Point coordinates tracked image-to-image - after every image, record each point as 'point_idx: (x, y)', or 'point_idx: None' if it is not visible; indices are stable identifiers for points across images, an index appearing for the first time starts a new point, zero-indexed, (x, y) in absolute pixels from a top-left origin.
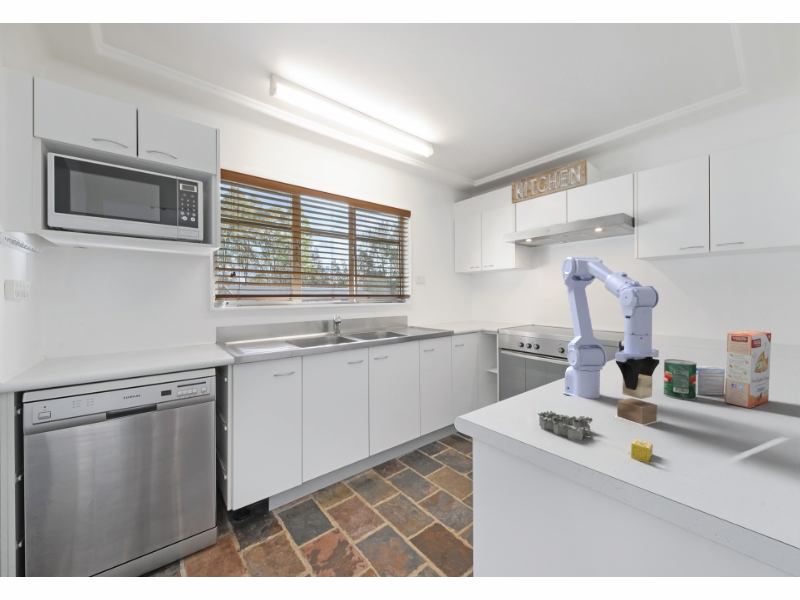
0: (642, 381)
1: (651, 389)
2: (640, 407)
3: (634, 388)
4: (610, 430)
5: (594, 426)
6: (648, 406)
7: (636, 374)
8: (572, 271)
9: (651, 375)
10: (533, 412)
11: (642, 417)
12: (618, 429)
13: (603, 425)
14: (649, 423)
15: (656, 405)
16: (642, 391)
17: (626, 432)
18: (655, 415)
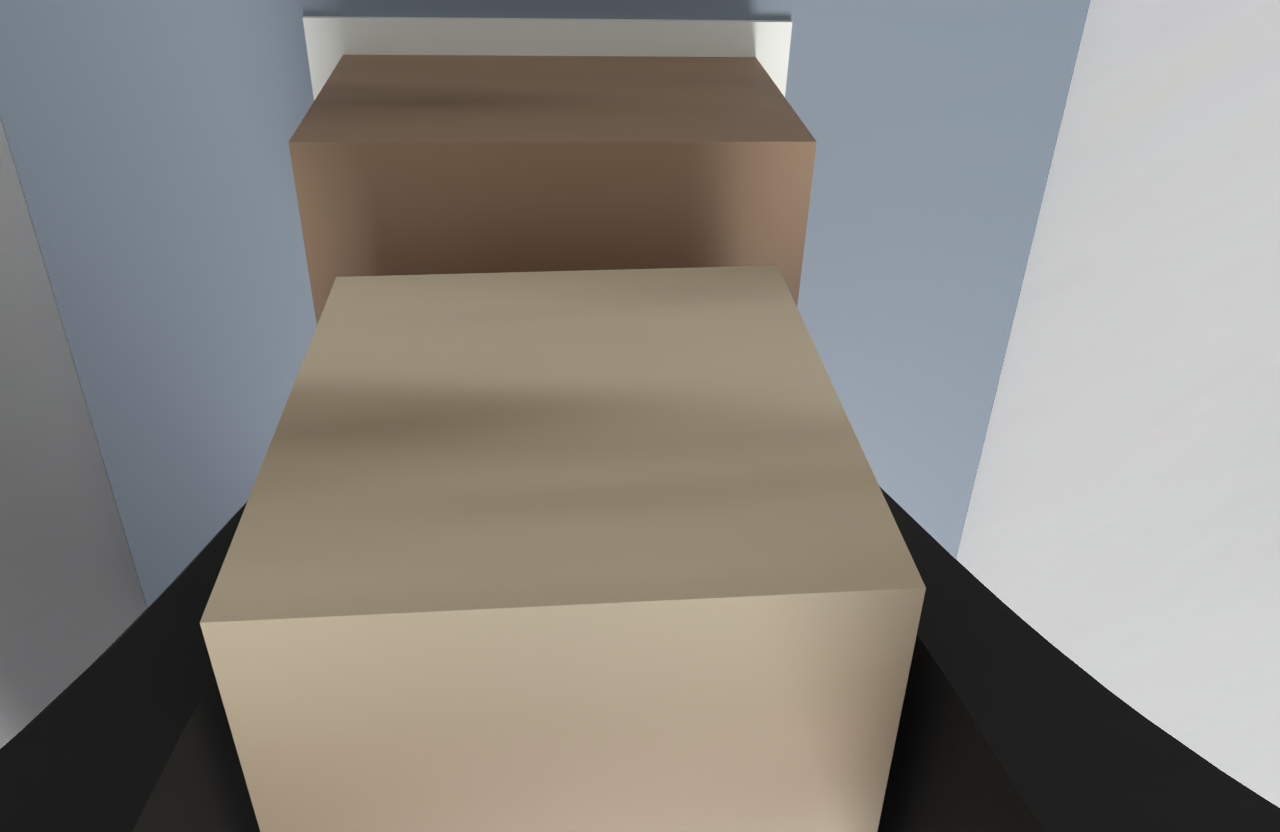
0: (860, 517)
1: (337, 363)
2: (802, 183)
3: (887, 495)
4: (1223, 180)
5: (1226, 343)
6: (580, 154)
7: (1155, 768)
8: None
9: (84, 713)
10: (1273, 793)
11: (771, 89)
12: (1102, 156)
13: (1103, 321)
14: (595, 32)
15: (305, 139)
16: (778, 348)
17: (1136, 39)
18: (367, 81)
